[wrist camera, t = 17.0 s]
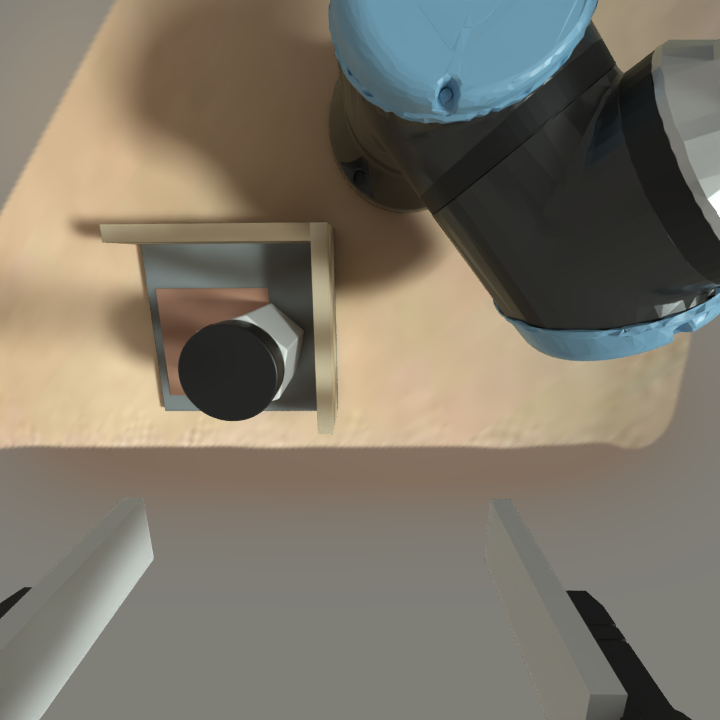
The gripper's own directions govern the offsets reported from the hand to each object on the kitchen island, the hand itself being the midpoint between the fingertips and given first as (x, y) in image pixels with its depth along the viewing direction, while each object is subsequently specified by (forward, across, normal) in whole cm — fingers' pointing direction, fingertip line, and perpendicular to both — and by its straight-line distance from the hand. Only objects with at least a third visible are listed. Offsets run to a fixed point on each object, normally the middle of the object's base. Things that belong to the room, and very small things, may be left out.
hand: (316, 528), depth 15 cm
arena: (+30, -12, +3) cm, 32 cm away
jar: (+29, -9, +1) cm, 30 cm away
